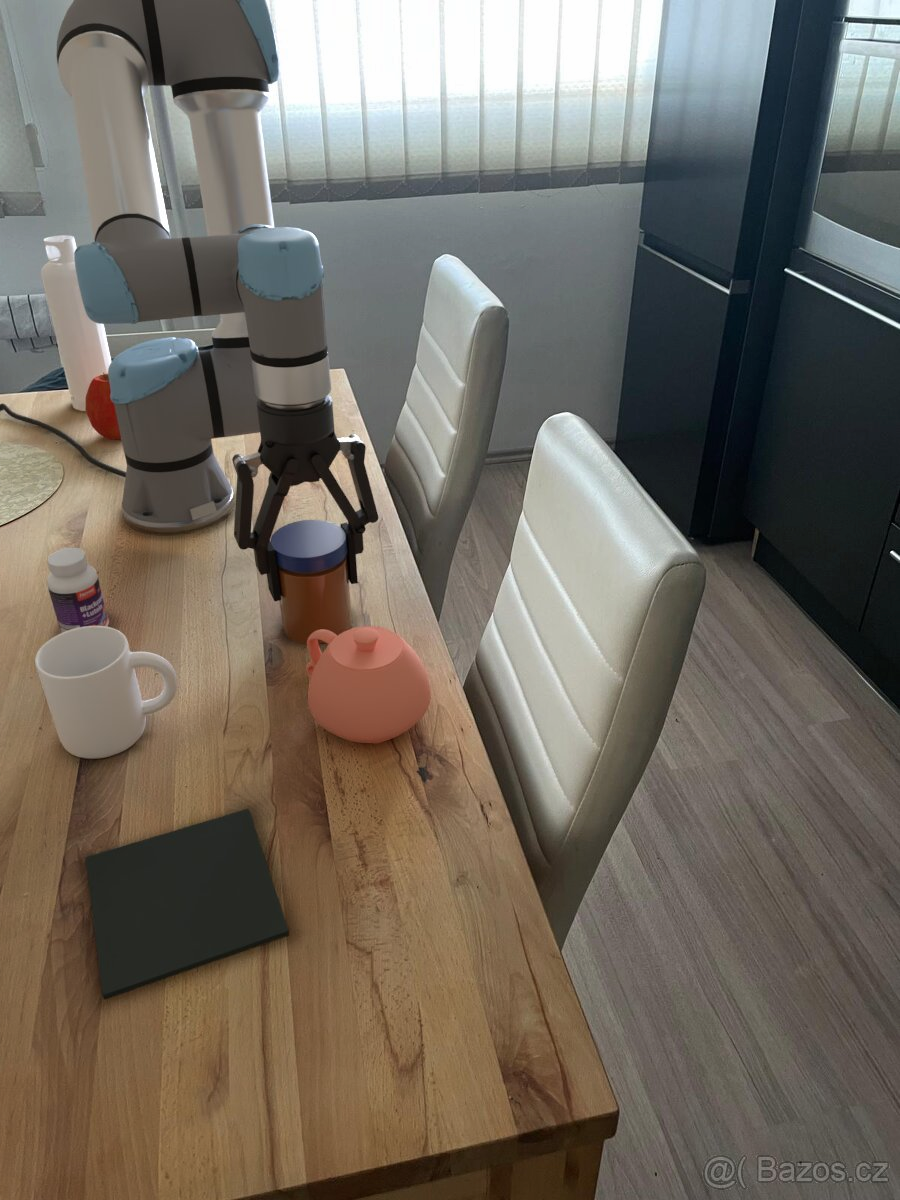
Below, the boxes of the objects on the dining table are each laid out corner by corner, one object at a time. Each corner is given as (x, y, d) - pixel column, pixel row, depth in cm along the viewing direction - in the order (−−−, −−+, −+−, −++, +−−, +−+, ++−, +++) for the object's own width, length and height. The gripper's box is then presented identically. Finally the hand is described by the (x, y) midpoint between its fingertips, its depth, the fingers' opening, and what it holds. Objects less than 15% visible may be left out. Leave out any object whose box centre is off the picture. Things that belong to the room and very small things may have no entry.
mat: (86, 861, 78) (85, 856, 78) (249, 812, 83) (248, 808, 82) (104, 1000, 68) (102, 995, 67) (289, 935, 72) (288, 930, 72)
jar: (275, 613, 109) (265, 537, 103) (339, 599, 112) (333, 523, 106) (293, 651, 103) (283, 572, 97) (360, 634, 105) (355, 556, 100)
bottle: (129, 398, 166) (95, 235, 150) (98, 414, 160) (59, 246, 144) (94, 391, 169) (58, 231, 153) (62, 407, 163) (21, 241, 147)
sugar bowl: (385, 773, 87) (380, 690, 81) (272, 721, 93) (260, 640, 87) (453, 702, 95) (453, 621, 90) (346, 659, 102) (339, 581, 96)
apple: (123, 420, 158) (110, 359, 152) (154, 431, 154) (142, 369, 148) (82, 436, 152) (66, 374, 146) (113, 448, 148) (99, 384, 142)
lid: (345, 572, 99) (344, 557, 98) (268, 574, 98) (266, 559, 97) (349, 533, 105) (347, 518, 104) (276, 534, 105) (274, 520, 104)
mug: (184, 693, 97) (167, 613, 91) (187, 745, 90) (169, 662, 84) (63, 714, 94) (38, 633, 88) (58, 769, 87) (30, 685, 82)
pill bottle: (95, 644, 104) (75, 571, 99) (51, 638, 105) (29, 566, 100) (118, 617, 108) (100, 546, 103) (77, 612, 109) (57, 541, 104)
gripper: (380, 369, 98) (389, 551, 111) (180, 398, 91) (214, 589, 104) (405, 393, 92) (411, 582, 105) (194, 426, 85) (228, 625, 98)
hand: (313, 585), depth 104 cm, fingers closed on lid, 8 cm apart
